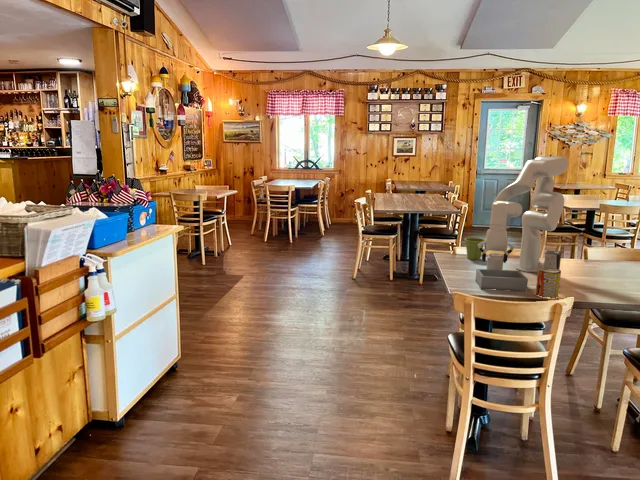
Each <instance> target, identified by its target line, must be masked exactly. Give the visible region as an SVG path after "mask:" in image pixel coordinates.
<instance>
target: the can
mask: <svg viewBox="0 0 640 480" xmlns="http://www.w3.org/2000/svg"><path fill="white" fill-rule="evenodd" d="M486 259H487V260H486V269H491V270H504V262H503V254H500V253H494V252H492V253H489V254H488V256H486Z"/></svg>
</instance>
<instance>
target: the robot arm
mask: <svg viewBox="0 0 640 480" xmlns="http://www.w3.org/2000/svg"><path fill="white" fill-rule="evenodd" d="M568 168H569V160H568V159H567V158H566V157H565V156H564V157H563V156H550V155H549V156H548V155H547V156H546V155H542V156H537V157H535V158H534V159H533V158H532V159H529V160H527V161H526V162H525V163H524V165H523V167H522V168H521V170H520V172H519V174H518V175H517V177H516V179H515V181H514V182H513V183H511V184H509V185H508V186H506V187H505V188H503V189H502V190H501V191H499V193H498V194H497V195H496V197H495V199H494V201H493V203H492V204H491V211H490V222H489V229H487V230H486V233H485V234H486V235H485V238H484V239H485V241H484V242H481V243H479V244H478V247H479V249H480V251H481V252H482V254H481V260H482V261H483V262H487V260H486V259H487V253H488V251H494V252H495V251H496V252H503V255H502V257H503V264H506V263H507V261H508V256H509V255H510V254H511V253H512V252H513V250H514V249H515V245H513V244H511V243H509V241H508V231H507V230H508V229H510V225H507V223H508V218H518V217H519V216H521V215H522V216H521V227H522V229H521V230H522V233H521V234H522V236H521V244H520V252H519V263H518V264H516V265H515V269H516V270H517V271H520V272H527V273H538V268H540V267H544V262H541V261H540V258H541V257H540V256H541V248H542V241H543V237H542V233H541V231H543V232H553V231H555V230H556V228H557V226H558V224H559V222H560V219H561V216H562V214H563V209H564V206H565V196H564V195H563V193H561V192H557V191H554V188H555V179H554V178H553V177H556V176H560V175H562V174H565V173H566V171H567V170H568ZM535 183H536V184H535ZM534 185H535V188H534V190H533V193H532V196H531V199H530V205H531V207H532V208H534V209H537V210H527V211H525V212H523V206H522V205H521V204H520V203H519V202H517V201H516V202H515V201H509V200H510V199H511V198H513V197H516V196H519V195H522V194H525V193H528V192H530V191H531V190H532V188H533V186H534ZM540 210H542V211H540ZM543 210H544V211H543ZM522 213H523V214H522ZM482 245H483V249H482V247H481V246H482ZM508 247H509V249H508ZM507 249H508V250H507Z"/></svg>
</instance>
